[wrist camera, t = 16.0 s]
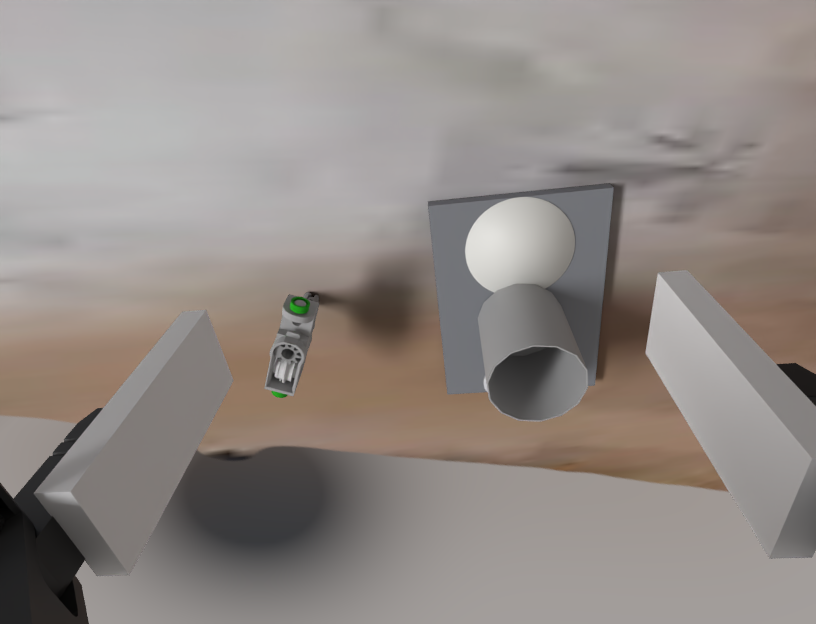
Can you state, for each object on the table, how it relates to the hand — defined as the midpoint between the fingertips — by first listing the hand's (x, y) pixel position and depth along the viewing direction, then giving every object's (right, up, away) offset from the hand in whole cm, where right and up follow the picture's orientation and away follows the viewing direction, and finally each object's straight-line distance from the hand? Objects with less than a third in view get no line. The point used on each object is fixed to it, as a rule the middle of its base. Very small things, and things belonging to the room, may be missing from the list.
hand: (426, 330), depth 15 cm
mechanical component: (-11, +2, +37) cm, 38 cm away
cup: (+11, 0, +35) cm, 37 cm away
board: (+11, +2, +35) cm, 37 cm away
